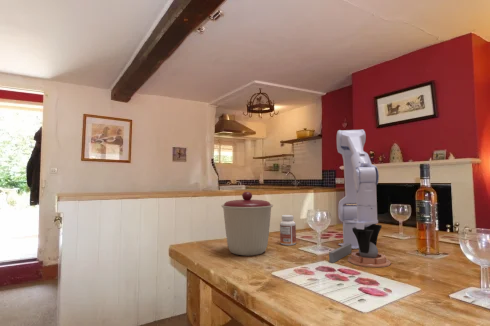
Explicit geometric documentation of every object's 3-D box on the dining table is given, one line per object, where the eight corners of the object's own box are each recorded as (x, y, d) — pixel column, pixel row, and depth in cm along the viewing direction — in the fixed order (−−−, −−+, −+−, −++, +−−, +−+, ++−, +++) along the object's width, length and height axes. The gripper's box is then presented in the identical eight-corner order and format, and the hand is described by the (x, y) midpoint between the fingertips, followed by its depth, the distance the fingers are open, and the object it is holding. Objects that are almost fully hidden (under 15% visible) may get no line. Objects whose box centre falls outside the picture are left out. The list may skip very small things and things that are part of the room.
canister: (226, 261, 91) (225, 193, 92) (218, 248, 108) (218, 191, 110) (281, 257, 95) (280, 192, 96) (264, 245, 112) (264, 190, 114)
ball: (368, 256, 92) (367, 239, 93) (382, 261, 87) (381, 242, 88) (354, 258, 90) (354, 240, 91) (368, 263, 85) (368, 244, 86)
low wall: (348, 252, 101) (347, 243, 101) (351, 252, 100) (351, 243, 100) (329, 262, 88) (329, 252, 88) (333, 263, 88) (332, 252, 88)
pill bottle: (291, 241, 119) (290, 214, 119) (299, 244, 113) (298, 216, 114) (277, 243, 117) (277, 215, 117) (284, 246, 111) (284, 216, 111)
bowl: (368, 255, 97) (367, 248, 97) (399, 264, 86) (399, 257, 86) (339, 259, 92) (339, 252, 92) (369, 269, 81) (368, 262, 81)
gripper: (360, 203, 98) (362, 244, 97) (345, 206, 87) (346, 252, 86) (383, 204, 94) (384, 247, 93) (370, 207, 82) (371, 256, 81)
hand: (368, 250), depth 89 cm, fingers open, 7 cm apart
